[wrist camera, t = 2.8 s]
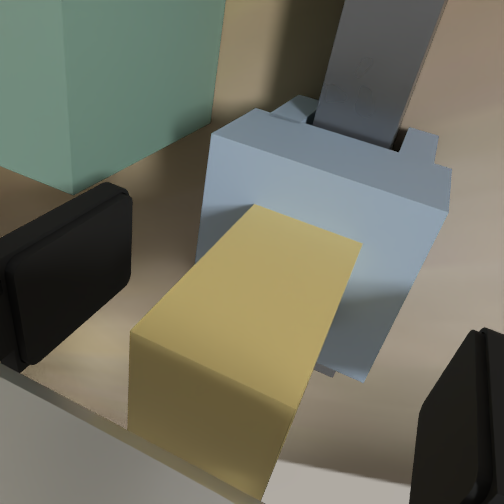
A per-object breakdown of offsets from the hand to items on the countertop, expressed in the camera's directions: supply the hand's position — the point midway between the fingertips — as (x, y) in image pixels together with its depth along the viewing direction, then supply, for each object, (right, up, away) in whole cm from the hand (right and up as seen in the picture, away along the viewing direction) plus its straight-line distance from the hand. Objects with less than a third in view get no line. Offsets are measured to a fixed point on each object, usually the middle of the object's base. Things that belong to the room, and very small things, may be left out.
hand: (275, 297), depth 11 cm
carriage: (+3, +4, +6) cm, 8 cm away
